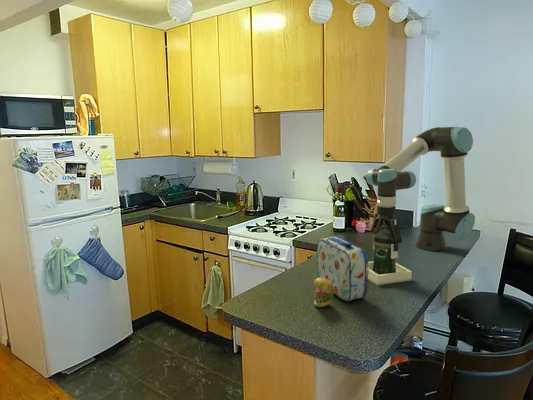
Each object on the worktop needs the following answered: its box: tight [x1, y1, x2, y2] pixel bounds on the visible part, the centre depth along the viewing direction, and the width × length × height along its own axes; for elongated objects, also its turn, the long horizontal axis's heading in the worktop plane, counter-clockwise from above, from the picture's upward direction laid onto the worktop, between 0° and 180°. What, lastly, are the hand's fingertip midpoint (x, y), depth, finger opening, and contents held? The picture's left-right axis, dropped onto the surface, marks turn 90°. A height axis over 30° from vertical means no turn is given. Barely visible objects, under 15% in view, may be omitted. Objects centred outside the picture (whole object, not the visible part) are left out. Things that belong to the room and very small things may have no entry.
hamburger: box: [313, 277, 334, 308], centre depth 139 cm, size 8×7×12 cm
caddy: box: [367, 260, 413, 286], centre depth 167 cm, size 16×16×4 cm
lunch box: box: [316, 235, 370, 302], centre depth 150 cm, size 28×10×22 cm, turn 22°
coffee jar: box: [372, 231, 397, 275], centre depth 165 cm, size 10×8×19 cm
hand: (385, 253), depth 166 cm, fingers open, 13 cm apart
